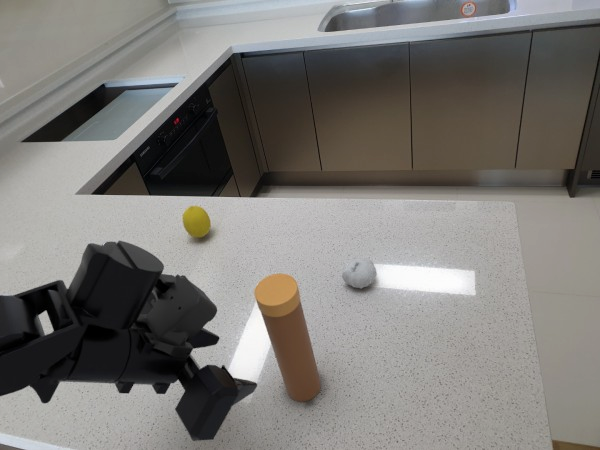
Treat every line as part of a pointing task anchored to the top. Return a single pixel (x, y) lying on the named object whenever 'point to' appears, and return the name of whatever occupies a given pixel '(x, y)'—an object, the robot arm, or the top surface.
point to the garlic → (359, 273)
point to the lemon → (196, 221)
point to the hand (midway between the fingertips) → (235, 362)
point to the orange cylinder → (288, 335)
